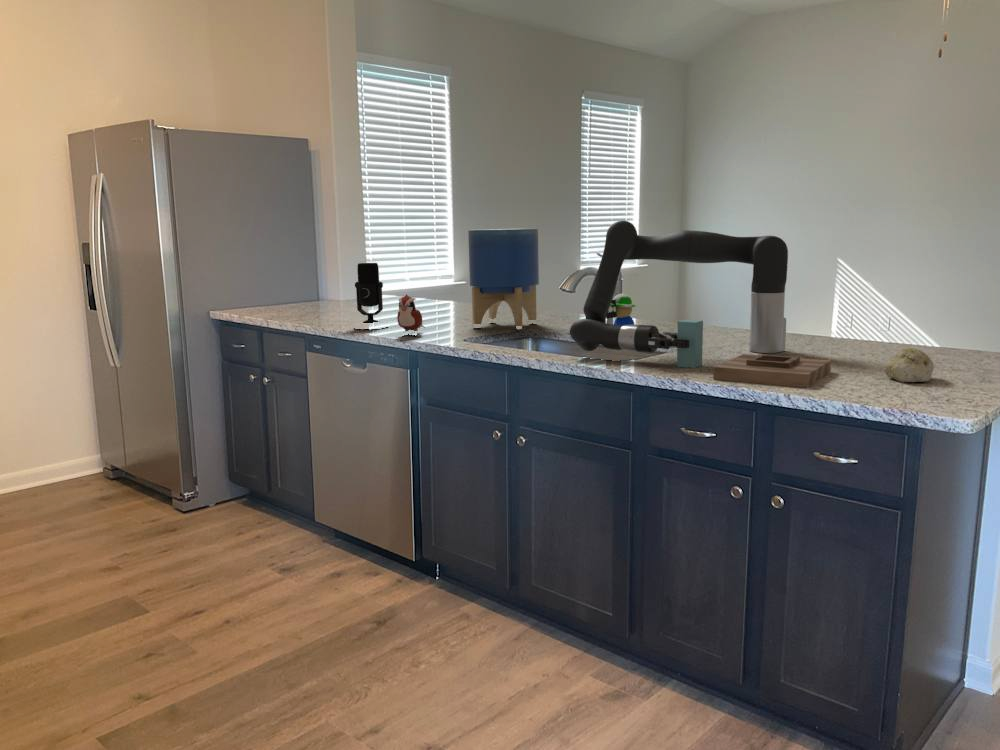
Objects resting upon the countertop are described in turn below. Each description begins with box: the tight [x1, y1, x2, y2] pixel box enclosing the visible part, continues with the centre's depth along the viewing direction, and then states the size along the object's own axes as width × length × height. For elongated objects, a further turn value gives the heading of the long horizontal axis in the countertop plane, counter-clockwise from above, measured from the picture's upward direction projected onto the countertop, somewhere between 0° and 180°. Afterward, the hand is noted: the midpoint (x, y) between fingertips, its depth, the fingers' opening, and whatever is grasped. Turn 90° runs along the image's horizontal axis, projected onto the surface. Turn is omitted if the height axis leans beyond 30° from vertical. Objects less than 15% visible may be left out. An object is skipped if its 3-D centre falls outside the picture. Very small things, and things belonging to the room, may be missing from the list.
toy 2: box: [606, 293, 636, 325], centre depth 266 cm, size 9×9×15 cm
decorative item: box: [884, 348, 935, 384], centre depth 190 cm, size 12×9×10 cm
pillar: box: [676, 319, 704, 369], centre depth 214 cm, size 5×5×12 cm
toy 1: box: [396, 294, 426, 332], centre depth 288 cm, size 9×16×15 cm, turn 166°
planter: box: [467, 227, 540, 327], centre depth 305 cm, size 26×26×37 cm
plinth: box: [712, 353, 832, 388], centre depth 198 cm, size 22×22×4 cm
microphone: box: [354, 262, 384, 323], centre depth 312 cm, size 14×14×25 cm
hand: (695, 341), depth 213 cm, fingers open, 8 cm apart
